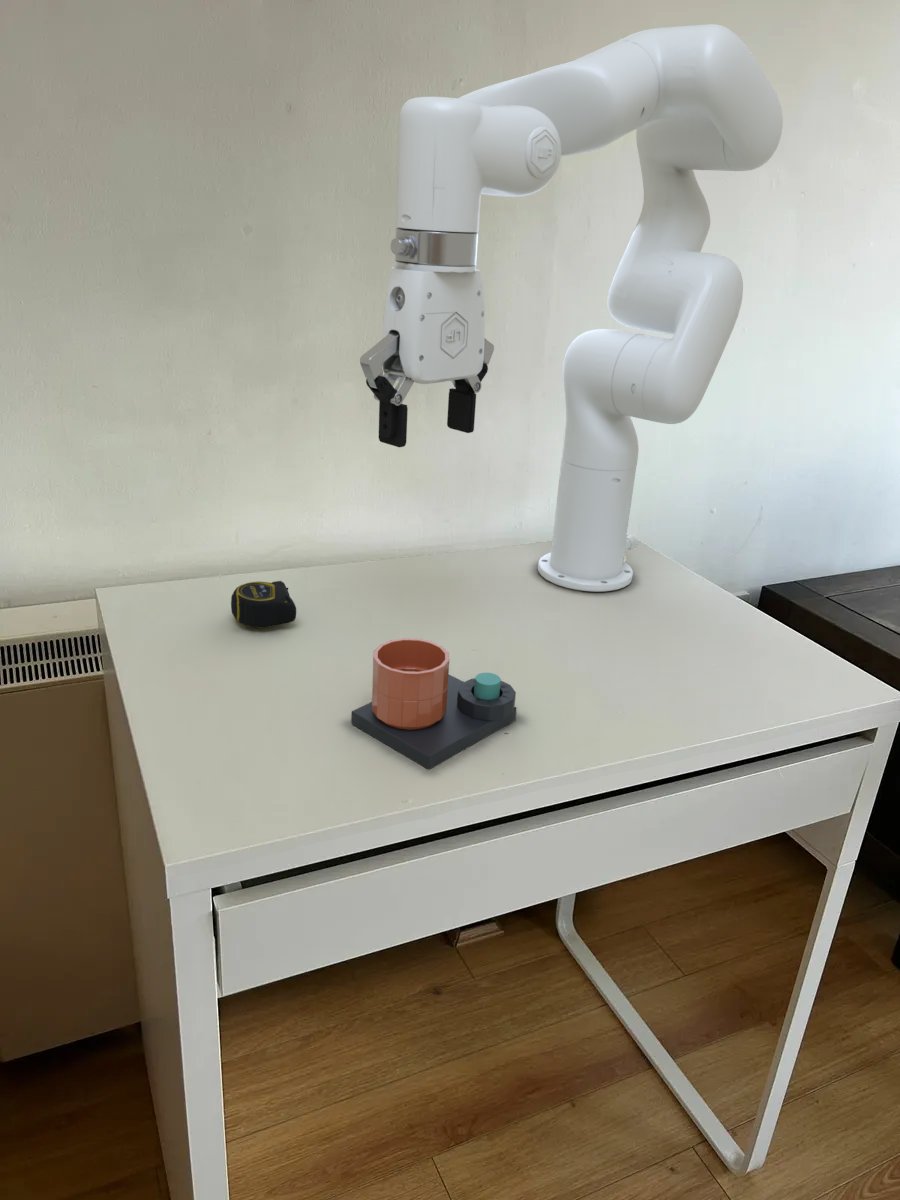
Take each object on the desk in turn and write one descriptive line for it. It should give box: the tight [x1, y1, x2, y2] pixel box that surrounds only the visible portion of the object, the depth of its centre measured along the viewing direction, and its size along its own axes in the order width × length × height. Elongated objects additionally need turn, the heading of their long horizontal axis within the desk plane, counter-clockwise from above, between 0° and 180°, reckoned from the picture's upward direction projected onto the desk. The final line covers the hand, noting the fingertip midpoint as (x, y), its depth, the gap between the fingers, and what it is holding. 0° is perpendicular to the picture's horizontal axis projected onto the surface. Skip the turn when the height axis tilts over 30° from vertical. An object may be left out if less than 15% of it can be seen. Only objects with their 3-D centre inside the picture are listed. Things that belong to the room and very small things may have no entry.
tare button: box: [474, 672, 502, 700], centre depth 84 cm, size 2×2×2 cm
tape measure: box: [230, 580, 297, 629], centre depth 102 cm, size 7×7×4 cm
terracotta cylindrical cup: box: [371, 637, 450, 730], centre depth 82 cm, size 7×7×6 cm
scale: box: [350, 674, 517, 770], centre depth 84 cm, size 13×10×3 cm
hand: (427, 436), depth 89 cm, fingers open, 9 cm apart
